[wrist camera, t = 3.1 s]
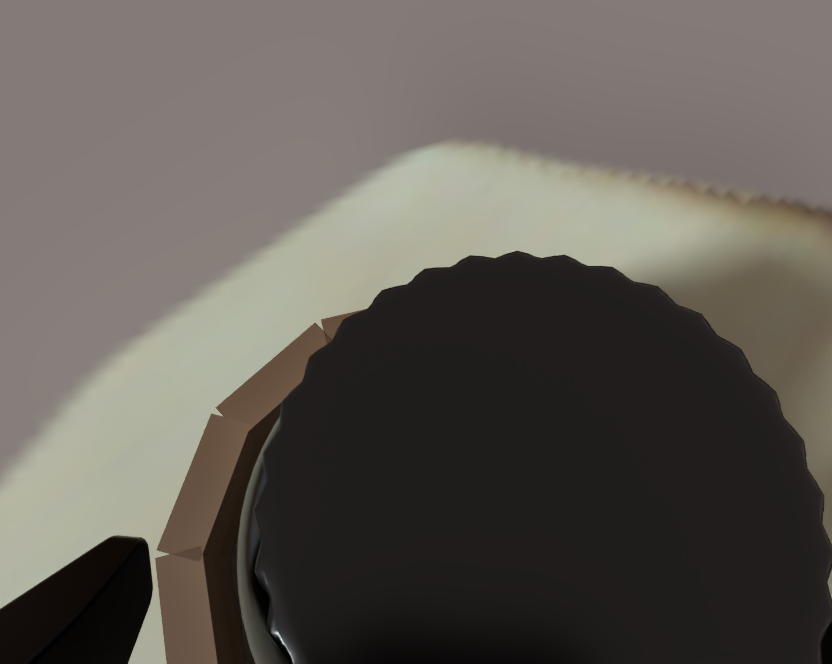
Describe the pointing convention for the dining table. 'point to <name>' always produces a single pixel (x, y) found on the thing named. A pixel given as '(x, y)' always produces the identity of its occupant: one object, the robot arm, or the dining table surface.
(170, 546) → the ring holder
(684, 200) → the dining table surface
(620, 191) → the dining table surface
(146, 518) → the dining table surface
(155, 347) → the dining table surface
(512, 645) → the supplement bottle
